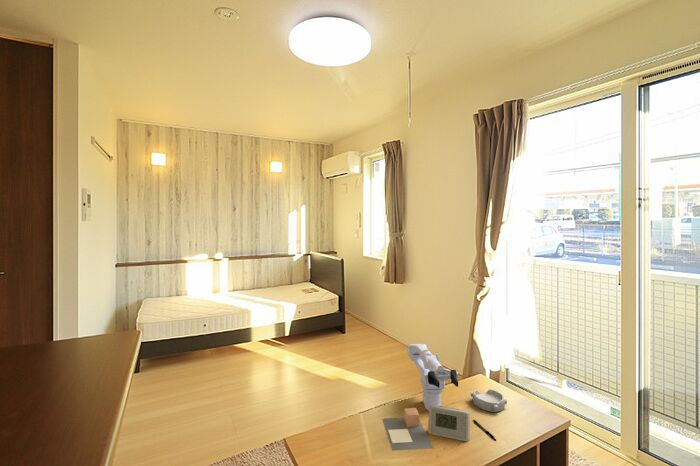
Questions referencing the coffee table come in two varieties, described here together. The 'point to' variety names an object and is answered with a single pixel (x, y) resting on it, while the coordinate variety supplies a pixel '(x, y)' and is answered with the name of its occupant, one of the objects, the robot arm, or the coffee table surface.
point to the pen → (484, 430)
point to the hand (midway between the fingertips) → (448, 384)
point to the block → (411, 417)
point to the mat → (405, 435)
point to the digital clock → (449, 422)
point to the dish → (489, 400)
